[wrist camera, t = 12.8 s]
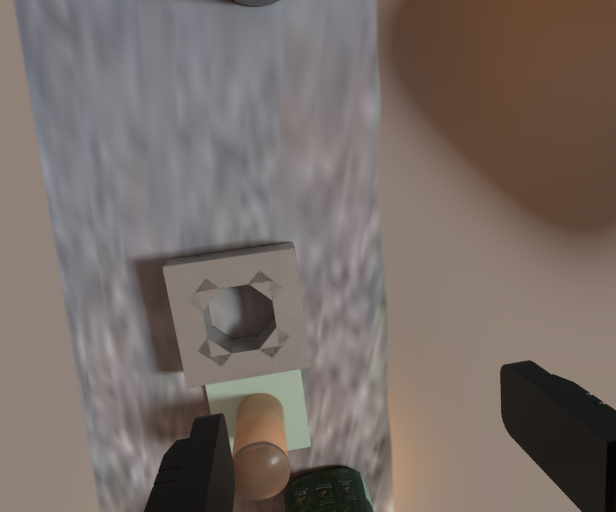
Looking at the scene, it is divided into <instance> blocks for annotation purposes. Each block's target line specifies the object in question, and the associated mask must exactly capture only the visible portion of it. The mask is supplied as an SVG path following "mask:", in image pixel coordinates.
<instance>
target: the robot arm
mask: <svg viewBox="0 0 616 512" xmlns="http://www.w3.org/2000/svg"><path fill="white" fill-rule="evenodd" d="M233 1H235V2H237V3H240V4H244V5H248V6H264V5H269V4H272V3H274V2H276V1H279V0H233ZM500 382H501V414H502V419H503V423H504V425H505V428H506V430H507V431H508V433H509V434H510V436H511V437H512V438H513V439H514V440H515V441H516V442H517V443H518V444H519V445H520V446H521V447H522V449H523V450H524V451H525V452H526V453H527V454H528V455H529V456H530V457H531V458H532V459H533V460H534V461H535V462H536V464H538V465H539V467H540V468H541V469H542V470H543V471H544V472H545V473H546V474H547V475H548V476H549V477H550V478H551V479H552V480H553V482H555V484H556V485H557V486H558V487H559V488H560V489H561V490H562V491H563V492H564V493H565V494H566V495H567V496H568V497H569V498H570V500H571V501H572V502H573V503H574V504H575V505H576V506H577V507H578V508H579V509H580V510H581V511H582V512H616V410H614V409H613V408H612V407H610V406H609V405H607V404H603V402H602V401H601V400H600V399H598V398H597V397H595V396H594V395H590V393H589V392H588V391H586V390H585V389H583V388H582V387H580V386H579V385H577V384H576V383H574V382H572V381H569V380H567V379H564V378H561V377H559V376H557V375H554V374H552V375H551V374H550V373H548V372H547V371H546V370H544V369H543V368H541V367H540V366H538V365H537V364H536V363H534V362H532V361H529V360H528V361H522V362H517V363H511V364H505V365H503V366H502V367H501V372H500ZM158 471H159V473H158V474H157V476H156V479H155V482H154V487H153V488H152V490H151V493H150V496H149V499H148V502H147V505H146V508H145V510H144V512H233V501H234V489H235V474H234V464H233V458H232V453H231V447H230V442H229V437H228V431H227V426H226V421H225V417H224V414H223V413H218V414H212V415H207V416H201V417H196V418H195V420H194V423H193V426H192V430H191V434H190V437H189V438H187V439H181V440H176V442H175V443H174V444H173V445H172V446H171V447H170V449H169V450H168V451H167V452H166V453H165V454H164V456H163V459H162V462H161V465H160V468H159V470H158Z"/></svg>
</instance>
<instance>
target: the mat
mask: <svg viewBox="0 0 616 512" xmlns="http://www.w3.org/2000/svg"><path fill="white" fill-rule="evenodd" d="M205 387H206V392H207V397H208V402H209V407H210V412H211V415H212V414H218V413H223V414H224V417H225V421H226V426H227V431H228V437H229V442H230V447H231V453H233V444H234V435H235V426H236V417H237V410H238V407H239V405H240V404H241V402H242V401H243V400H244V399H245V398H247V397H248V396H250V395H252V394H256V393H267V394H270V395H273V396H274V397H276V398H277V399H278V400H279V401H280V402H281V404H282V406H283V410H284V420H285V432H286V443H287V451H289V450H294V449H300V448H305V447H311V443H310V436H309V428H308V421H307V414H306V407H305V400H304V393H303V386H302V378H301V371H300V369H299V370H293V371H287V372H281V373H275V374H269V375H263V376H257V377H251V378H245V379H239V380H233V381H227V382H221V383H215V384H209V385H205Z"/></svg>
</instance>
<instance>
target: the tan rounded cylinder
mask: <svg viewBox="0 0 616 512" xmlns="http://www.w3.org/2000/svg"><path fill="white" fill-rule="evenodd" d="M232 458H233V464H234V474H235V489H234V490H235V491H236V492H237V493H238V494H239V495H241V496H243V497H245V498H247V499H251V500H264V499H268V498H271V497H273V496H275V495H277V494H278V493H279V492H280V491H282V490H283V488H284V487H285V486H286V484H287V482H288V480H289V476H290V465H289V460H288V455H287V443H286V432H285V420H284V410H283V406H282V404H281V402H280V401H279V400H278V399H277V398H276V397H274V396H273V395H270V394H267V393H256V394H252V395H250V396H248V397H247V398H245V399H244V400H243V401H242V402H241V404H240V405H239V407H238V410H237V417H236V426H235V435H234V444H233V453H232Z"/></svg>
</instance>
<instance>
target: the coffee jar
mask: <svg viewBox="0 0 616 512" xmlns="http://www.w3.org/2000/svg"><path fill="white" fill-rule="evenodd" d="M285 512H374V511H373V507H372V502H371V498H370V495H369V491H368V488H367V485H366V482H365V480H364V478H363V476H362V475H361V474H360V473H359V472H358V471H356V470H354V469H352V468H334V469H326V470H321V471H317V472H313V473H309V474H306V475H303V476H300V477H298V478H296V479H295V480H294V481H292V482H291V483H290V485H289V486H288V488H287V490H286V493H285Z"/></svg>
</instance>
